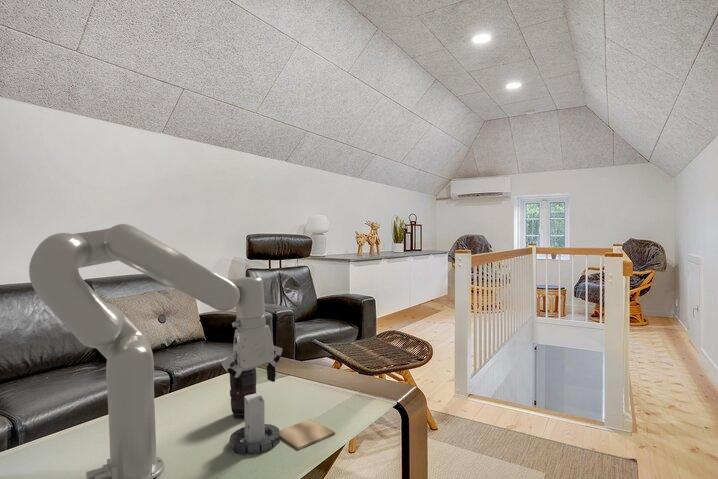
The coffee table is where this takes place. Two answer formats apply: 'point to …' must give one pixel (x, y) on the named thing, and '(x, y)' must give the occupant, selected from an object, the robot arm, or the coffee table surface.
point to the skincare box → (254, 418)
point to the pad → (305, 434)
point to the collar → (257, 446)
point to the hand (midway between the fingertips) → (255, 385)
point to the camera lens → (247, 389)
